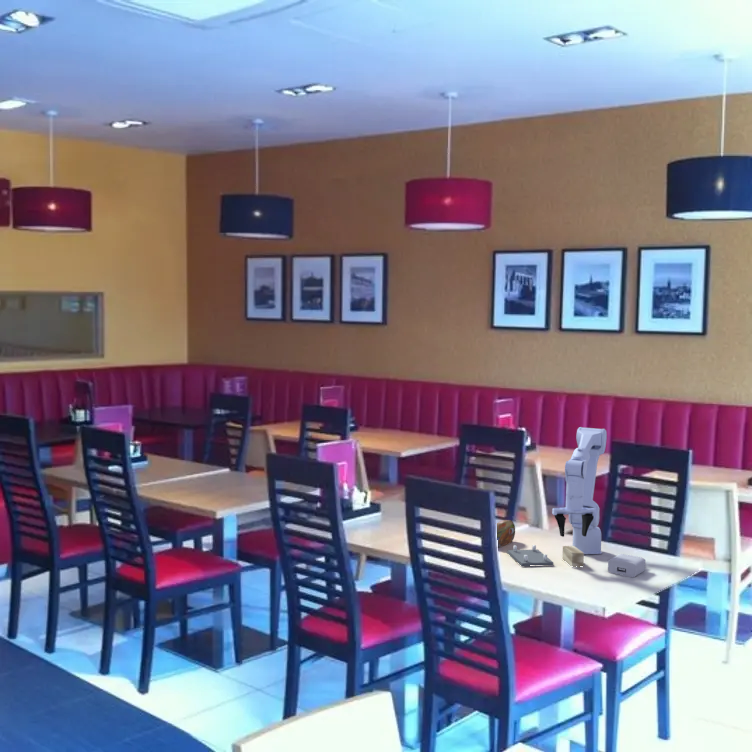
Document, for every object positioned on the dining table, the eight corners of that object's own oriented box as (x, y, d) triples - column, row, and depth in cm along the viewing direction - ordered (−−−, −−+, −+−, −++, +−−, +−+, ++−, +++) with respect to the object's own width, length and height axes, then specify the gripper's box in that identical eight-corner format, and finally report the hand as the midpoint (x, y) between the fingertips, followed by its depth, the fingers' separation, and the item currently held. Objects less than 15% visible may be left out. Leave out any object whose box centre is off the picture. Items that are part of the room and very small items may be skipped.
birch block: (573, 560, 316) (574, 545, 316) (583, 567, 308) (583, 553, 307) (562, 560, 316) (562, 546, 315) (571, 568, 307) (572, 553, 307)
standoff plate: (537, 552, 324) (538, 543, 324) (553, 565, 309) (553, 556, 308) (507, 553, 323) (507, 544, 322) (521, 566, 307) (521, 557, 307)
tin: (495, 549, 328) (495, 526, 327) (487, 548, 330) (488, 524, 329) (515, 541, 340) (516, 518, 339) (508, 539, 342) (508, 517, 341)
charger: (651, 568, 309) (635, 578, 297) (625, 563, 315) (607, 572, 303) (652, 554, 309) (635, 563, 297) (625, 549, 314) (608, 558, 302)
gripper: (557, 498, 305) (556, 538, 306) (599, 498, 307) (598, 538, 308) (550, 494, 312) (549, 533, 313) (592, 494, 314) (590, 533, 315)
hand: (573, 535), depth 311 cm, fingers open, 7 cm apart
